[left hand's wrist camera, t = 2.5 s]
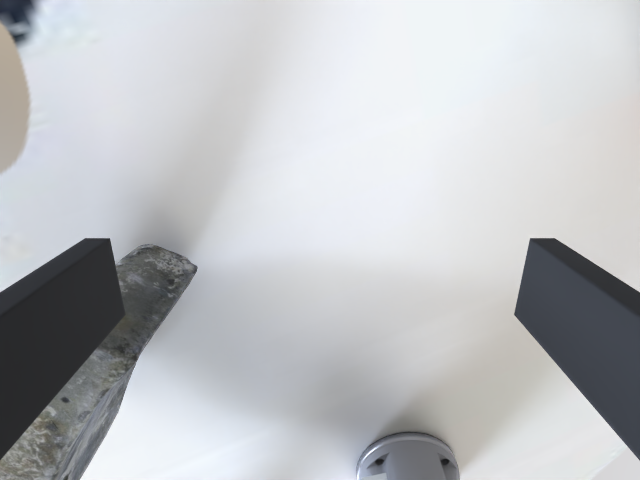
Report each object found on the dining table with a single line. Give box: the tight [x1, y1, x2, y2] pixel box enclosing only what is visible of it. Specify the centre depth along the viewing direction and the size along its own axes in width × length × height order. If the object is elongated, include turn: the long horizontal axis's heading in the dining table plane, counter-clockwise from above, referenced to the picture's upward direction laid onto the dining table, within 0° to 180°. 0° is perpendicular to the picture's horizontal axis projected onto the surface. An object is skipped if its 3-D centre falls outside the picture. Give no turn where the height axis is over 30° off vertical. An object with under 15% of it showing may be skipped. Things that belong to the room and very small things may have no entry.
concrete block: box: [0, 244, 197, 480], centre depth 41 cm, size 27×9×20 cm, turn 147°
